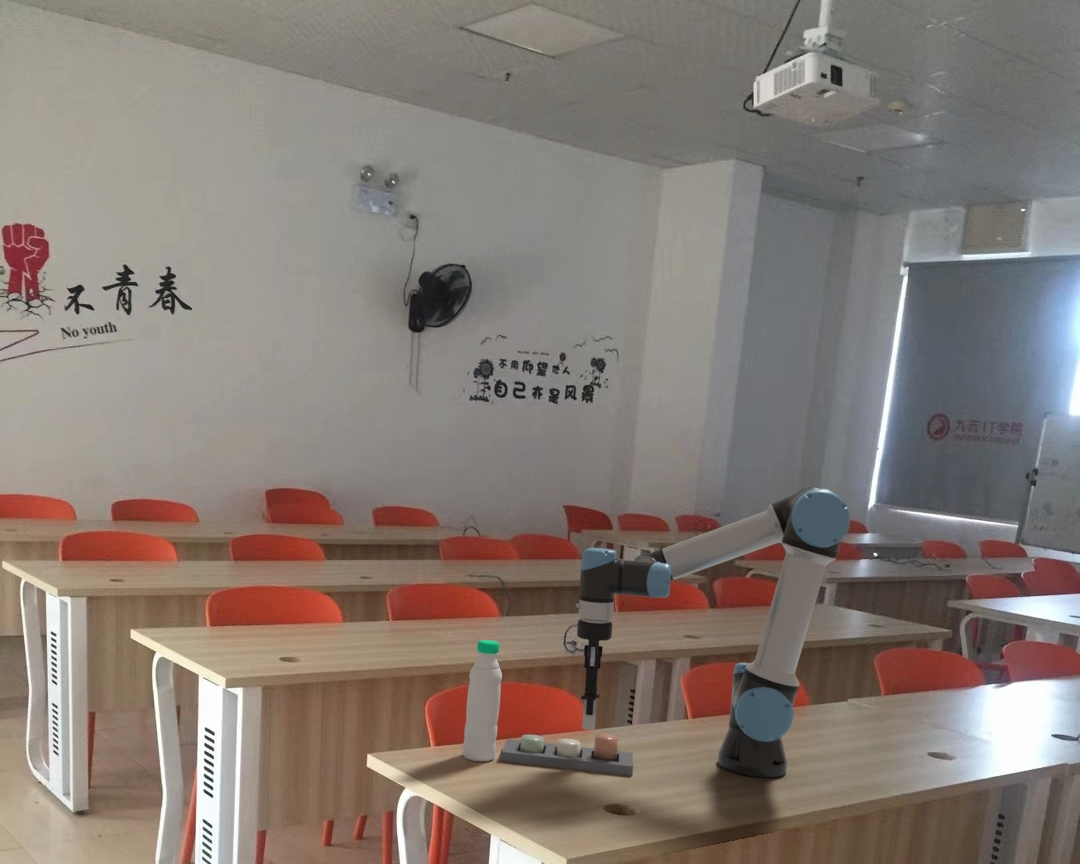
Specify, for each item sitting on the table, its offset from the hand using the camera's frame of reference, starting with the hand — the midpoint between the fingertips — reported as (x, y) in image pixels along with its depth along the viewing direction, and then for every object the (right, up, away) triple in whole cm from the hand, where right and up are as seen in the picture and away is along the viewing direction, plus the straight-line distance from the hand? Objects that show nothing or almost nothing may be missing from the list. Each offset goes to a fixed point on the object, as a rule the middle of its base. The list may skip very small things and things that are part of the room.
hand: (588, 728), depth 230 cm
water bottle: (-24, -6, -2) cm, 25 cm away
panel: (-5, -7, 0) cm, 9 cm away
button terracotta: (+4, -6, 0) cm, 7 cm away
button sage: (-12, -6, +1) cm, 14 cm away
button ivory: (-4, -7, 0) cm, 8 cm away
